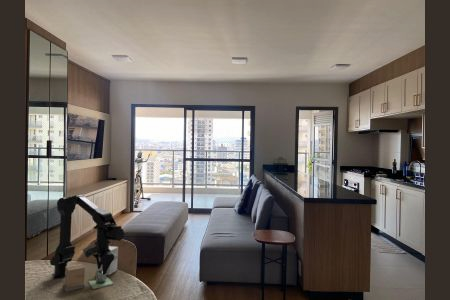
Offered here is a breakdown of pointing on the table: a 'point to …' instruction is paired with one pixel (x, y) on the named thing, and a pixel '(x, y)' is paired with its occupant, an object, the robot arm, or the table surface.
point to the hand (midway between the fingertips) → (101, 271)
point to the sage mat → (94, 285)
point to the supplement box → (113, 265)
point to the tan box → (74, 277)
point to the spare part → (100, 277)
